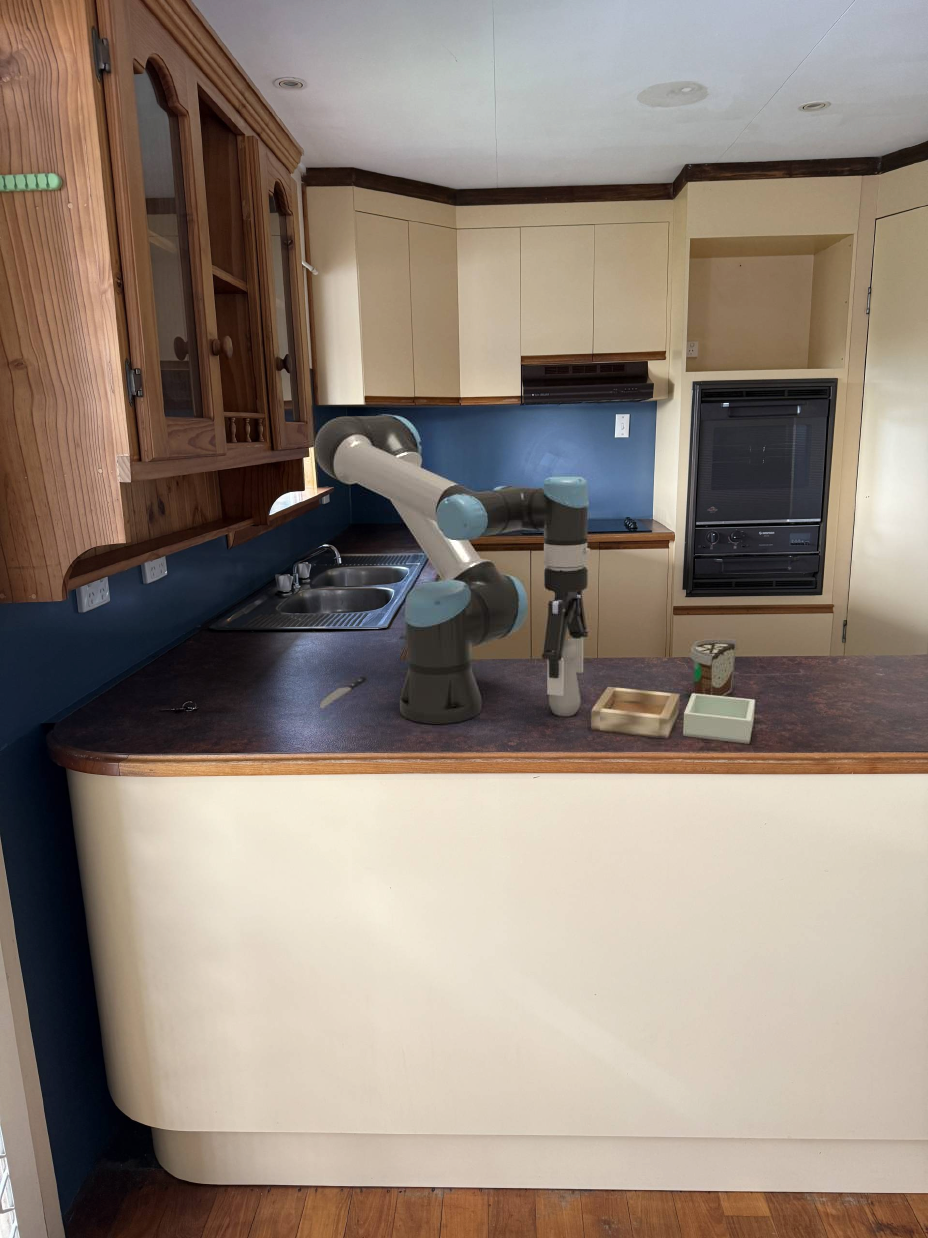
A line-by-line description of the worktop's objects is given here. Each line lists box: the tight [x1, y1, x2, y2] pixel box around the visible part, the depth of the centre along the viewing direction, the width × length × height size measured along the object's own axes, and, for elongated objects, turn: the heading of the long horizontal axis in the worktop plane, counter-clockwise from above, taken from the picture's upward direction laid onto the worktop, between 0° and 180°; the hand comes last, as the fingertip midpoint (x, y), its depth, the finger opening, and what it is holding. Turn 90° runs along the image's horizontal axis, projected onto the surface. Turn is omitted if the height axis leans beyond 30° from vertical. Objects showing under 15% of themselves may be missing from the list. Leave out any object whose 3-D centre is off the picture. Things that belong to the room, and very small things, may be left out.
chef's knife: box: [319, 676, 367, 709], centre depth 165 cm, size 19×1×3 cm
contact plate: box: [611, 701, 664, 715], centre depth 147 cm, size 9×9×1 cm
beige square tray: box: [590, 686, 681, 740], centre depth 147 cm, size 13×13×4 cm
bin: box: [682, 692, 756, 745], centre depth 143 cm, size 11×11×4 cm
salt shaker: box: [548, 641, 582, 717], centre depth 150 cm, size 6×6×13 cm
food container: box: [689, 638, 738, 697], centre depth 158 cm, size 12×6×10 cm, turn 141°
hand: (565, 682), depth 150 cm, fingers open, 13 cm apart
